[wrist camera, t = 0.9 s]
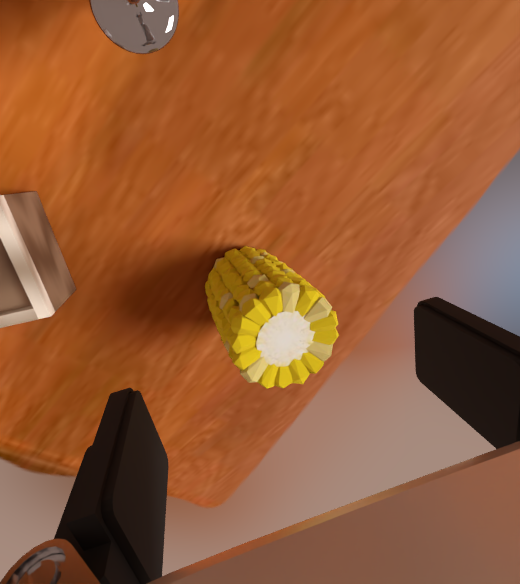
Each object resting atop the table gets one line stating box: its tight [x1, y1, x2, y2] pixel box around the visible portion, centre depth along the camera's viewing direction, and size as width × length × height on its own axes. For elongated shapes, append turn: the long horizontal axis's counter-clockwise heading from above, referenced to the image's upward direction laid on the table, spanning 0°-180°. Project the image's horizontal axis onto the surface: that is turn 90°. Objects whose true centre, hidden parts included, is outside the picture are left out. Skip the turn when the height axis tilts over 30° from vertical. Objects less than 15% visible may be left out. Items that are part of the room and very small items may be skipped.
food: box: [205, 246, 339, 389], centre depth 32 cm, size 15×12×10 cm
